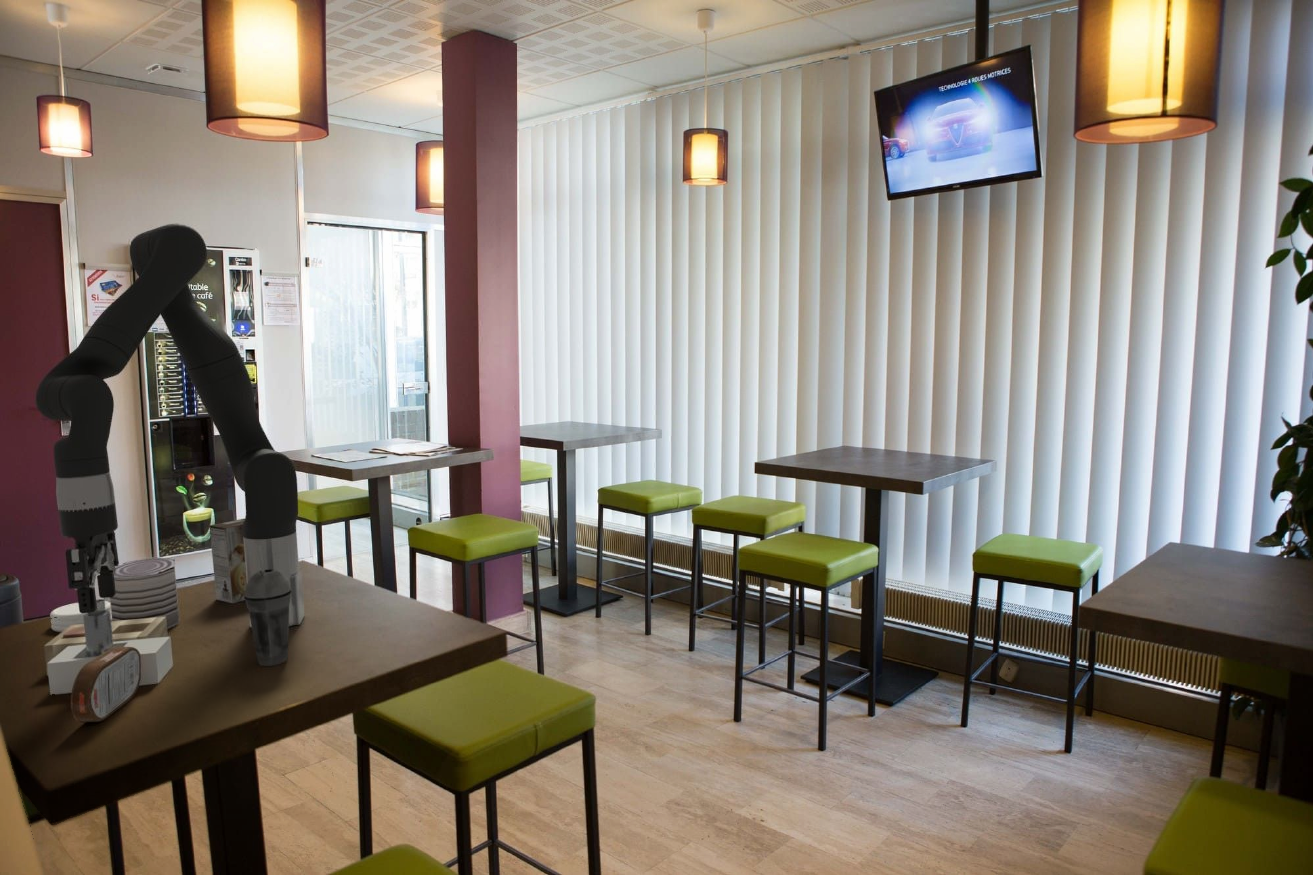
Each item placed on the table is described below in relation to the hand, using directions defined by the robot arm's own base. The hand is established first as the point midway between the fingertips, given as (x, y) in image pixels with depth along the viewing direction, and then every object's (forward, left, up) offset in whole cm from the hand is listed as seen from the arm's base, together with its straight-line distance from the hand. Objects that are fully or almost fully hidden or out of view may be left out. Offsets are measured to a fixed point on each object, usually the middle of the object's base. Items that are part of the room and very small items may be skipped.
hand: (98, 604), depth 139 cm
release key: (+7, -11, -12) cm, 18 cm away
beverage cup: (-25, -1, -13) cm, 28 cm away
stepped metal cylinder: (0, 0, -13) cm, 13 cm away
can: (+2, -29, -13) cm, 32 cm away
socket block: (+3, -11, -13) cm, 17 cm away
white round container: (+15, -35, -13) cm, 41 cm away
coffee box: (-12, -45, -13) cm, 48 cm away
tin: (-5, +13, -13) cm, 19 cm away
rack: (-1, 0, -13) cm, 13 cm away
